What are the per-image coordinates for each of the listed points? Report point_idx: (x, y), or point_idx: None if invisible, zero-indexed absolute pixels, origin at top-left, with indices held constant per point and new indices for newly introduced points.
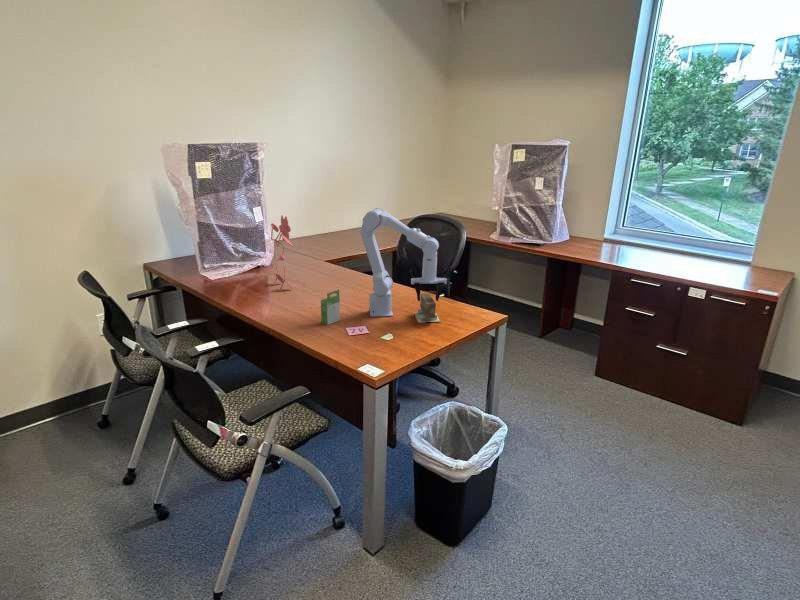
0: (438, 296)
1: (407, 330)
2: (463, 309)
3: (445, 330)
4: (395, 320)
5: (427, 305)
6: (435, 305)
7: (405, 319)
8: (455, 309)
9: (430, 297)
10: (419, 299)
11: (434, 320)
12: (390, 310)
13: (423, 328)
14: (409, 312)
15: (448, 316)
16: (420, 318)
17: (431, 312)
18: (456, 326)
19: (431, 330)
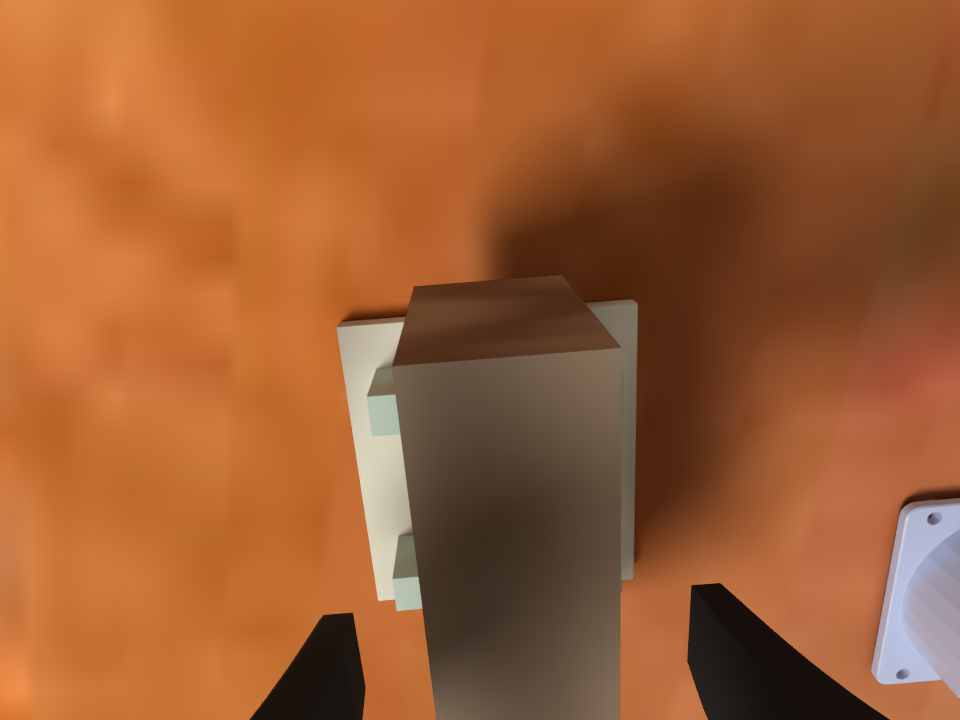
0: (296, 680)
1: (842, 25)
2: (36, 715)
3: (281, 19)
4: (902, 384)
5: (588, 336)
6: (401, 351)
7: (771, 417)
8: (131, 712)
9: (467, 716)
10: (719, 604)
11: None
12: (952, 583)
13: (598, 105)
14: (676, 617)
15: (220, 519)
16: None
17: (479, 304)
18: (112, 182)
19: (493, 22)
